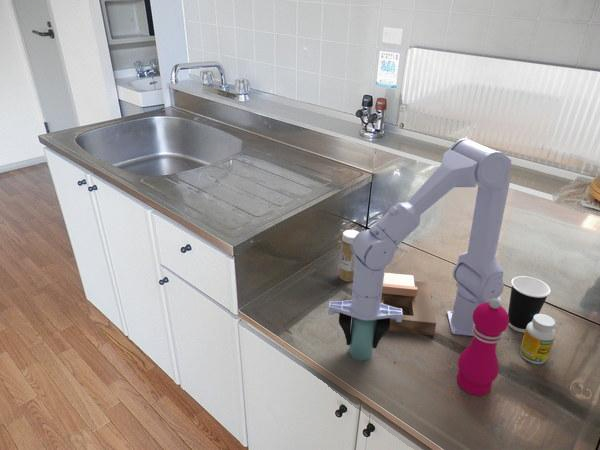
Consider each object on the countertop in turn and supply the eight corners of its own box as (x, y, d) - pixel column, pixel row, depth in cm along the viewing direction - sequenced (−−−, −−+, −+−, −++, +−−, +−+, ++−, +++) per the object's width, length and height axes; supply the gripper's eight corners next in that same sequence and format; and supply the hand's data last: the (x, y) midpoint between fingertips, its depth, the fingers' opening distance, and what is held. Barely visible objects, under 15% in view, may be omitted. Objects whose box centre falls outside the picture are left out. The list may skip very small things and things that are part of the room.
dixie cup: (500, 311, 109) (510, 272, 104) (536, 319, 106) (549, 280, 101) (500, 331, 102) (512, 291, 97) (539, 340, 99) (552, 299, 94)
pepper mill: (472, 402, 84) (495, 316, 75) (446, 375, 90) (465, 292, 81) (501, 391, 86) (527, 306, 77) (474, 365, 92) (495, 284, 83)
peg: (372, 345, 97) (376, 312, 93) (372, 361, 93) (376, 327, 88) (349, 343, 97) (352, 309, 93) (348, 359, 93) (351, 324, 89)
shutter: (412, 278, 114) (414, 268, 113) (415, 299, 106) (417, 289, 105) (378, 274, 115) (379, 265, 114) (378, 295, 107) (380, 285, 106)
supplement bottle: (531, 344, 98) (542, 308, 94) (552, 360, 94) (565, 324, 90) (513, 351, 96) (524, 315, 92) (534, 368, 92) (546, 331, 88)
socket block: (426, 293, 114) (428, 282, 113) (433, 335, 100) (436, 323, 99) (362, 287, 116) (363, 276, 115) (361, 327, 102) (362, 315, 100)
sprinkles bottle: (335, 276, 121) (338, 232, 114) (348, 271, 123) (352, 227, 117) (347, 284, 117) (351, 239, 111) (360, 278, 120) (364, 234, 114)
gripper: (403, 281, 90) (395, 334, 97) (331, 274, 92) (328, 327, 98) (406, 302, 84) (397, 357, 90) (328, 294, 86) (325, 349, 92)
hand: (361, 343), depth 94 cm, fingers closed on peg, 5 cm apart
